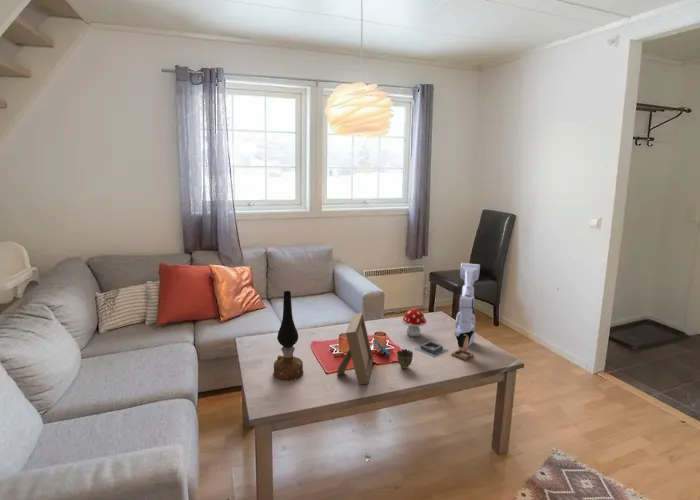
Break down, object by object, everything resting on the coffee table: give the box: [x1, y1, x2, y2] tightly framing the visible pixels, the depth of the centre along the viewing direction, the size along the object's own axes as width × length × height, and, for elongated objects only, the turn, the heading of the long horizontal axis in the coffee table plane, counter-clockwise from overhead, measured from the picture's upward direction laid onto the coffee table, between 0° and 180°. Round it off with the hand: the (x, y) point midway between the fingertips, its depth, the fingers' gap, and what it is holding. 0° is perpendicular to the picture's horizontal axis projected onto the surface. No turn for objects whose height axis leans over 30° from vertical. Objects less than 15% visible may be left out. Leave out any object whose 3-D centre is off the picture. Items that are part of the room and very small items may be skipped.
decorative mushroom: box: [401, 308, 427, 338], centre depth 235 cm, size 14×14×15 cm
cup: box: [396, 348, 414, 370], centre depth 198 cm, size 8×7×8 cm
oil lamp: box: [272, 290, 304, 382], centre depth 187 cm, size 14×15×40 cm
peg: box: [457, 334, 469, 352], centre depth 209 cm, size 4×4×7 cm
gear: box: [374, 339, 390, 356], centre depth 213 cm, size 11×6×10 cm
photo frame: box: [336, 312, 374, 385], centre depth 192 cm, size 15×22×25 cm
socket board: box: [414, 340, 449, 358], centre depth 216 cm, size 12×12×3 cm
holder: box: [449, 349, 476, 363], centre depth 210 cm, size 9×9×2 cm
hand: (463, 345), depth 209 cm, fingers closed on peg, 4 cm apart
